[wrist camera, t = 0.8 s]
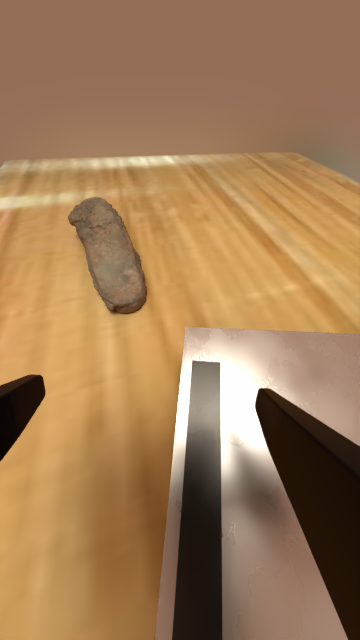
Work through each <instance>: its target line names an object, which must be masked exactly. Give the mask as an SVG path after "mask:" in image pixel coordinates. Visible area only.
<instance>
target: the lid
mask: <svg viewBox="0 0 360 640" xmlns="http://www.w3.org/2000/svg"><path fill="white" fill-rule="evenodd" d="M260 388H269V389H271V390H273V391H275V392H276V393H278V394H279V395H281V396H282V397H284V398H285V399H287V400H288V401H290V402H292V403H293V404H295V405H296V406H298V407H299V408H301V409H302V410H304V411H306V412H307V413H309V414H310V415H312V416H313V417H315V418H316V419H318V420H320V421H321V422H323V423H324V424H326V425H327V426H329V427H330V428H332V429H334V430H335V431H337V432H338V433H340V434H341V435H343V436H344V437H346V438H348V439H349V440H351V441H352V442H354V443H355V444H357V445H358V446H360V334H342V333H318V332H294V331H270V330H247V329H223V328H199V327H186V328H185V338H184V348H183V358H182V368H181V378H180V388H179V399H178V409H177V419H176V429H175V439H174V449H173V459H172V469H171V479H170V489H169V499H168V509H167V519H166V529H165V539H164V549H163V559H162V569H161V579H160V590H159V600H158V610H157V620H156V630H155V640H348V638H347V636H346V634H345V631H344V629H343V627H342V624H341V622H340V619H339V617H338V615H337V612H336V610H335V607H334V605H333V603H332V600H331V598H330V596H329V593H328V591H327V588H326V586H325V584H324V581H323V579H322V577H321V574H320V572H319V569H318V567H317V565H316V562H315V560H314V557H313V555H312V553H311V550H310V548H309V546H308V543H307V541H306V538H305V536H304V534H303V531H302V529H301V526H300V524H299V522H298V519H297V517H296V515H295V512H294V510H293V507H292V505H291V503H290V500H289V498H288V496H287V493H286V491H285V488H284V486H283V484H282V481H281V479H280V476H279V474H278V472H277V469H276V467H275V465H274V462H273V460H272V457H271V455H270V453H269V450H268V448H267V445H266V442H265V439H264V435H263V432H262V429H261V426H260V423H259V419H258V416H257V413H256V410H255V401H256V397H257V393H258V390H259V389H260Z"/></svg>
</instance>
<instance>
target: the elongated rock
mask: <svg viewBox="0 0 360 640" xmlns="http://www.w3.org/2000/svg"><path fill="white" fill-rule="evenodd" d="M68 219H69V222H70V224H71V225H72V226H75V227H76V231H77V234H78V236H79V237H80V239H81V241H82V243H83V245H84V246H85V248H86V251H85V252H86V255H87V256H86V258H87V261H88V267H89V271H90V274H91V276H92V278H93V284H94V287H95V289H96V290H98V292H99V294H100V296H101V297H102V299H103V301H104V302H105V303H106V306H107V308H108V309H109V310H110V311H114V310H116V311H117V312H119V313H131V312H134V311H136V310H138V309H139V308H141V306H142V305H143V304H144V302H145V299H146V286H145V284H144V281H143V279H144V273H143V271H142V269H141V266H140V256H139V255H138V253H137V252H136V251H135V249H133V246H132V243H131V240H130V237H129V235H128V233H127V231H126V230H125V229H126V227H125V226H124V224H123V223H124V222H123V221H122V218H121V216H119V215H118V212H117V211H116V210H115V209H113V208H112V205H111V204H109V203H107V202H106V201H105V200H104V199H102V198H98V197H94V198H89V199H86V200H84V201H82V203H81V204H79V205H76V206H75V207H74V209H73V211H71V214H70V215H69V216H68Z"/></svg>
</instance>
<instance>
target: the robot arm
mask: <svg viewBox="0 0 360 640" xmlns="http://www.w3.org/2000/svg"><path fill="white" fill-rule="evenodd" d="M44 397H45V386H44V380H43V377H42V376H41V375H27V376H25V377H22V378H19V379H17V380H14V381H11V382H9V383H6V384H3V385H1V386H0V461H1V460H2V459H3V457H4V456H5V455H6V454H7V452H8V451H9V450H10V448H11V447H12V446H13V444H14V443H15V442H16V440H17V439H18V437H19V436H20V435H21V433H22V432H23V430H24V429H25V427H26V425H27V424H28V422H29V421H30V419H31V418H32V416H33V414H34V413H35V411H36V410H37V408H38V407H39V405H40V403H41V402H42V400H43V399H44ZM255 410H256V413H257V416H258V419H259V423H260V426H261V429H262V432H263V435H264V439H265V442H266V445H267V448H268V450H269V453H270V455H271V457H272V460H273V462H274V465H275V467H276V469H277V472H278V474H279V476H280V479H281V481H282V484H283V486H284V488H285V491H286V493H287V496H288V498H289V500H290V503H291V505H292V507H293V510H294V512H295V515H296V517H297V519H298V522H299V524H300V526H301V529H302V531H303V534H304V536H305V538H306V541H307V543H308V546H309V548H310V550H311V553H312V555H313V557H314V560H315V562H316V565H317V567H318V569H319V572H320V574H321V577H322V579H323V581H324V584H325V586H326V588H327V591H328V593H329V596H330V598H331V600H332V603H333V605H334V607H335V610H336V612H337V615H338V617H339V619H340V622H341V624H342V627H343V629H344V631H345V634H346V636H347V638H348V640H360V446H358V445H357V444H355V443H354V442H352V441H351V440H349V439H348V438H346V437H344V436H343V435H341V434H340V433H338V432H337V431H335V430H334V429H332V428H330V427H329V426H327V425H326V424H324V423H323V422H321V421H320V420H318V419H316V418H315V417H313V416H312V415H310V414H309V413H307V412H306V411H304V410H302V409H301V408H299V407H298V406H296V405H295V404H293V403H292V402H290V401H288V400H287V399H285V398H284V397H282V396H281V395H279V394H278V393H276V392H275V391H273V390H271V389H269V388H260V389H259V390H258V393H257V397H256V401H255Z"/></svg>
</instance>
